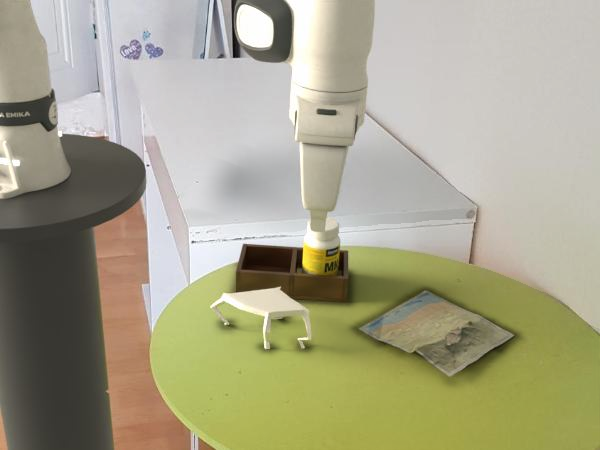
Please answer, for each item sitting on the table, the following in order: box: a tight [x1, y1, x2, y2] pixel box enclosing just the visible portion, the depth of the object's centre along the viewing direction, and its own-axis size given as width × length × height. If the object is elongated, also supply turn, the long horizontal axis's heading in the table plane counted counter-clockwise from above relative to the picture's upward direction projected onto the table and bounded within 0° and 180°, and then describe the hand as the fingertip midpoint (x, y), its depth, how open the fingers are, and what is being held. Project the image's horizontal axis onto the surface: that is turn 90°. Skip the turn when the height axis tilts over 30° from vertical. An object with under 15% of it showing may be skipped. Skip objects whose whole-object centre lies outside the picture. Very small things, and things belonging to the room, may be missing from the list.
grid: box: [235, 243, 349, 303], centre depth 98 cm, size 14×7×4 cm, turn 87°
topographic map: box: [358, 290, 515, 378], centre depth 90 cm, size 14×14×2 cm
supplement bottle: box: [302, 216, 341, 276], centre depth 97 cm, size 5×5×8 cm
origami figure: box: [210, 287, 313, 350], centre depth 88 cm, size 12×8×5 cm
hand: (319, 211), depth 94 cm, fingers open, 8 cm apart
